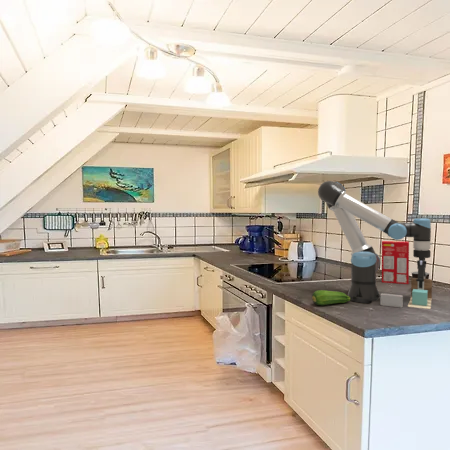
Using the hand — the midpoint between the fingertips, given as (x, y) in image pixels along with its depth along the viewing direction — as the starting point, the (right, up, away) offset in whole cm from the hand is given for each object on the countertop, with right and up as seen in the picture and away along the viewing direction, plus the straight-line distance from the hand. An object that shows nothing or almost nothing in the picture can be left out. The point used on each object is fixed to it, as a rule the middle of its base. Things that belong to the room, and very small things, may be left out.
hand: (421, 291), depth 180 cm
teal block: (-7, -3, -12) cm, 15 cm away
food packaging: (+6, -2, +40) cm, 40 cm away
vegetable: (-47, -5, -6) cm, 47 cm away
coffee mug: (+8, -3, +16) cm, 18 cm away
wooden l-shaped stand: (-5, -4, -9) cm, 11 cm away
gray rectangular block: (-26, -5, -22) cm, 35 cm away
